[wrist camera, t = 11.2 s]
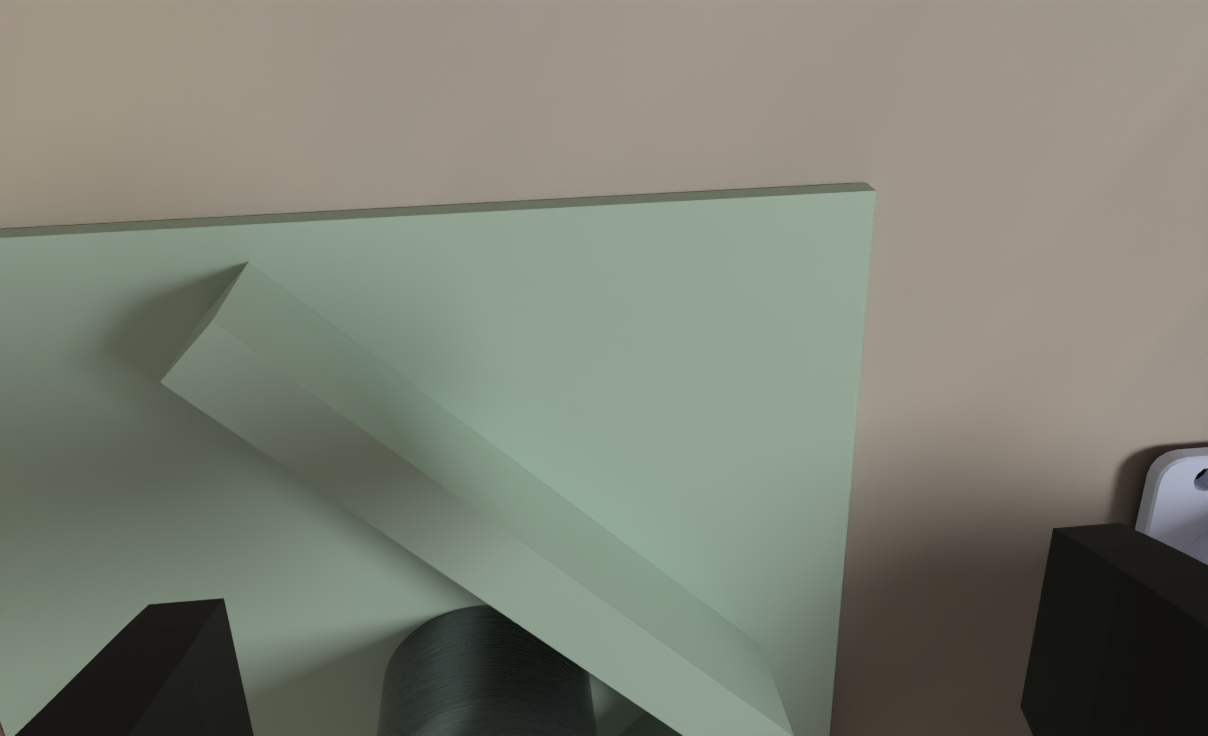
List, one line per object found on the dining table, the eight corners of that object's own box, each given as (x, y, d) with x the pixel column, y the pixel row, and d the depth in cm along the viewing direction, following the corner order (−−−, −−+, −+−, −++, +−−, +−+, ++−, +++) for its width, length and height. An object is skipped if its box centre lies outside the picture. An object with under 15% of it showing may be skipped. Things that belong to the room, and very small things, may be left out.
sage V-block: (866, 182, 18) (936, 236, 15) (803, 950, 26) (841, 1077, 23) (-148, 236, 16) (-274, 308, 13) (122, 1030, 24) (77, 1175, 21)
